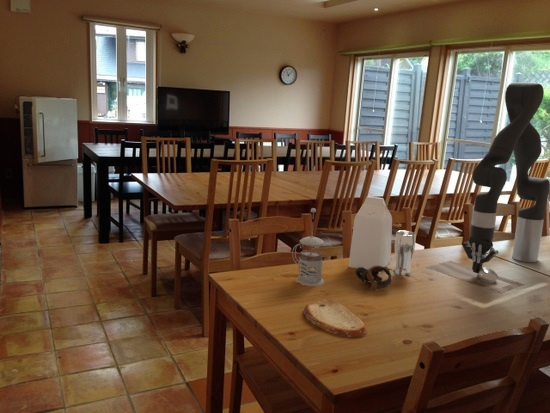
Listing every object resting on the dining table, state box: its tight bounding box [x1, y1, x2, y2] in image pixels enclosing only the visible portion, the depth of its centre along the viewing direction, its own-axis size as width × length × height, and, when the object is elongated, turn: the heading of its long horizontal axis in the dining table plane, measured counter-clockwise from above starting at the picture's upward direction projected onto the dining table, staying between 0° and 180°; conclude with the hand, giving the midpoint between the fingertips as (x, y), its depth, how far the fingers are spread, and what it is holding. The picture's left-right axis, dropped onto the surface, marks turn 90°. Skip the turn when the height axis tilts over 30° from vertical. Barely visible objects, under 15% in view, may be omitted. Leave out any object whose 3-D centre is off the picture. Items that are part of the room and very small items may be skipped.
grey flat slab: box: [425, 260, 525, 294], centre depth 173 cm, size 15×29×1 cm, turn 36°
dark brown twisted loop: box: [354, 266, 393, 293], centre depth 161 cm, size 12×10×8 cm
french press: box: [291, 207, 325, 287], centre depth 163 cm, size 10×12×25 cm
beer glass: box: [393, 230, 417, 277], centre depth 174 cm, size 7×7×15 cm
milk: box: [348, 195, 393, 274], centre depth 180 cm, size 12×12×26 cm
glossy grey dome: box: [477, 266, 499, 284], centre depth 168 cm, size 6×6×3 cm
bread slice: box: [303, 298, 368, 338], centre depth 135 cm, size 18×18×4 cm
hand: (476, 272), depth 171 cm, fingers closed
